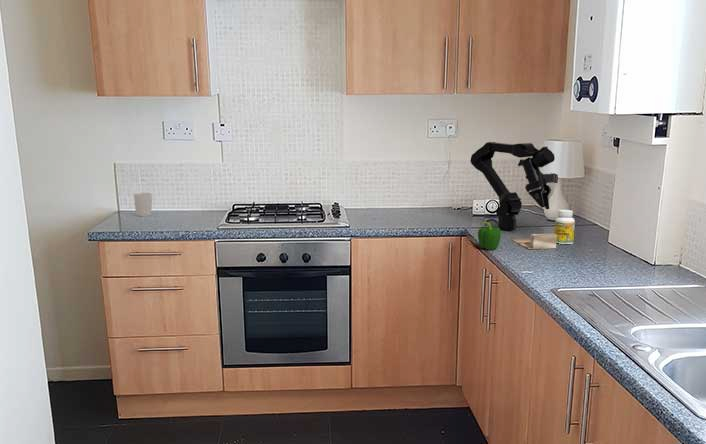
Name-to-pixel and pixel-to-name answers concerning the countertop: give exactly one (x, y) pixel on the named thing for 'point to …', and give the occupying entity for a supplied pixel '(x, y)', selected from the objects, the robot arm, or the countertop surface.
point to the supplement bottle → (564, 227)
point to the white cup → (143, 204)
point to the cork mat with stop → (538, 241)
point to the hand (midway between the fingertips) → (545, 208)
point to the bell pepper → (489, 237)
